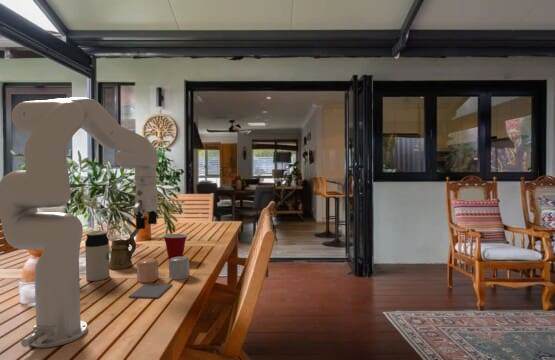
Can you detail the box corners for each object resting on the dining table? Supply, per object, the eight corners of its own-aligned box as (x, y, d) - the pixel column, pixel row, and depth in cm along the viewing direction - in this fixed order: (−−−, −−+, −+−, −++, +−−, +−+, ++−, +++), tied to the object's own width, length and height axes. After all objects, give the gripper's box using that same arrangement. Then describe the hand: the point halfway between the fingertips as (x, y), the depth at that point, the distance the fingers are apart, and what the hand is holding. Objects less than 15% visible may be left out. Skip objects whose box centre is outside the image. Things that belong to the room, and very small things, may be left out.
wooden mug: (137, 269, 141) (136, 227, 140) (104, 270, 140) (103, 227, 140) (145, 263, 150) (144, 223, 149) (114, 263, 149) (113, 223, 148)
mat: (157, 298, 110) (157, 297, 110) (128, 297, 111) (128, 296, 111) (172, 285, 122) (172, 284, 122) (145, 284, 123) (145, 283, 123)
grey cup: (185, 279, 128) (184, 261, 128) (167, 279, 129) (166, 261, 128) (191, 273, 135) (191, 256, 135) (174, 273, 136) (173, 256, 135)
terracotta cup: (152, 282, 125) (152, 264, 125) (134, 282, 125) (133, 263, 125) (160, 276, 132) (160, 258, 132) (143, 275, 132) (142, 258, 132)
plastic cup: (192, 257, 158) (191, 232, 158) (180, 264, 148) (179, 237, 147) (171, 256, 161) (171, 231, 161) (158, 262, 151) (158, 236, 150)
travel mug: (81, 281, 126) (80, 234, 126) (93, 274, 134) (92, 230, 134) (102, 281, 126) (101, 234, 125) (113, 274, 134) (112, 230, 133)
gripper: (144, 182, 118) (145, 230, 119) (164, 180, 135) (165, 222, 136) (124, 182, 119) (125, 230, 119) (146, 180, 136) (147, 222, 137)
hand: (146, 226), depth 128 cm, fingers open, 9 cm apart
